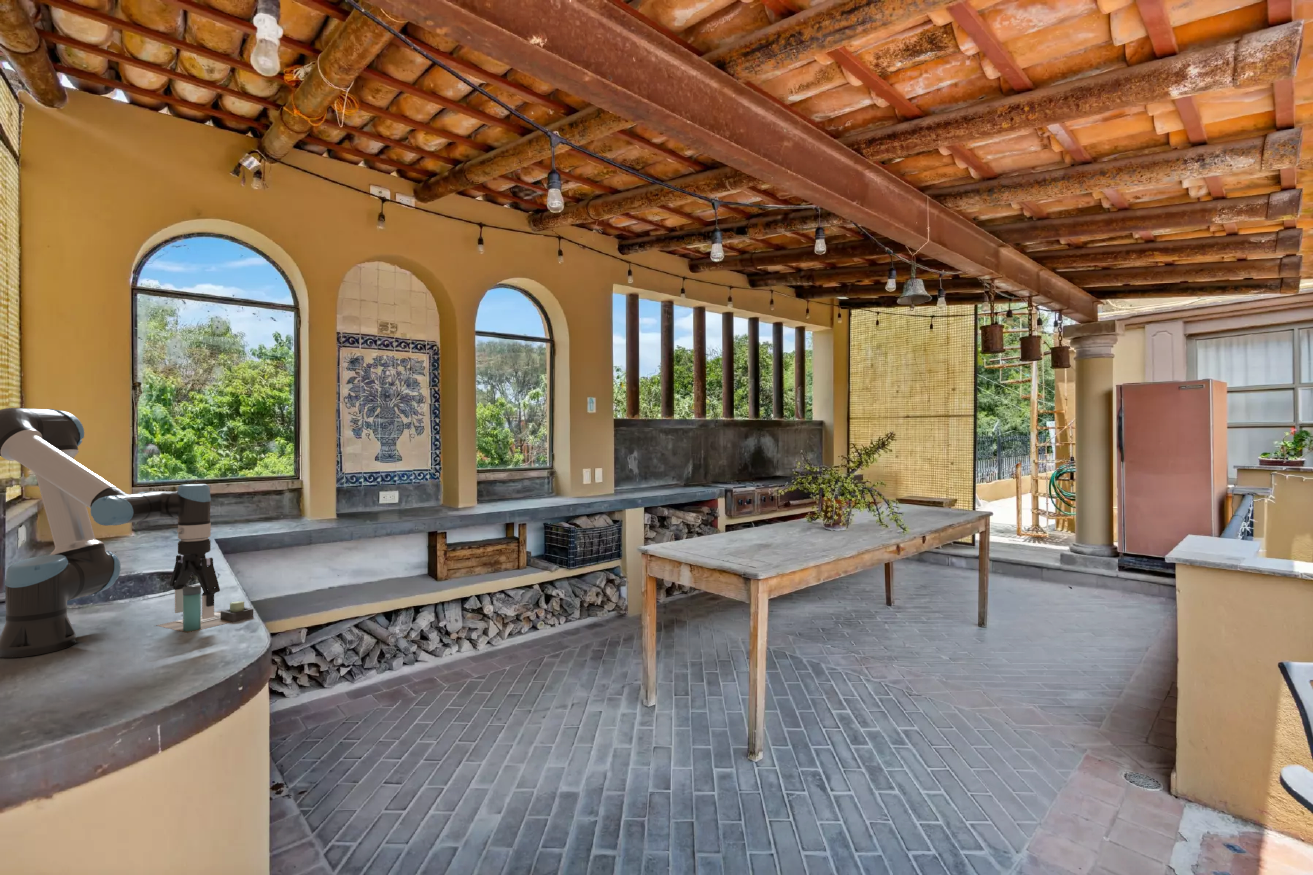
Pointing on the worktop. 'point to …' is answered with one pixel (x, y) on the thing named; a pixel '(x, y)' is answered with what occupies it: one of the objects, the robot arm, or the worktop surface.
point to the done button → (237, 606)
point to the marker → (191, 607)
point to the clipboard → (213, 620)
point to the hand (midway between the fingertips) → (194, 614)
